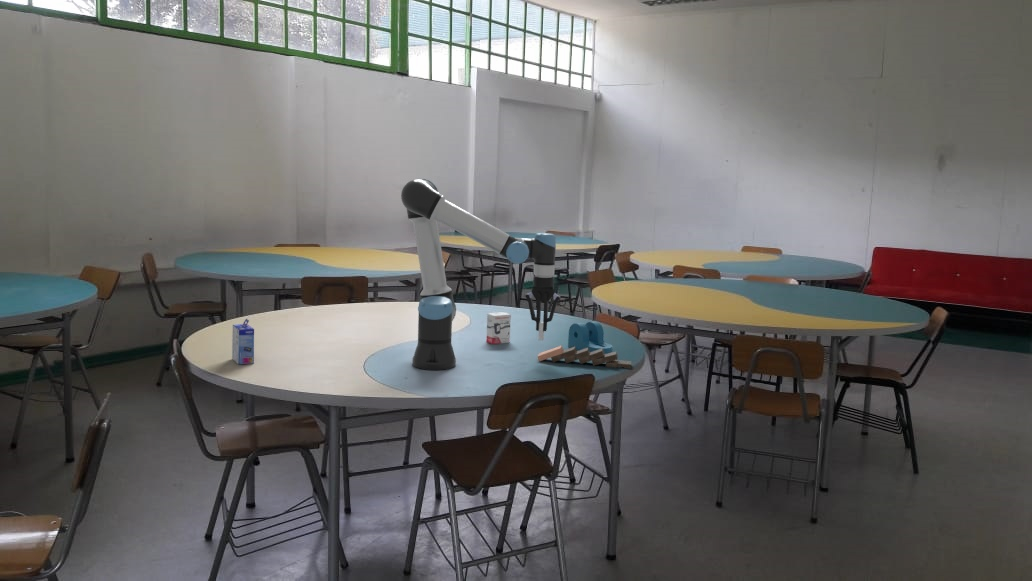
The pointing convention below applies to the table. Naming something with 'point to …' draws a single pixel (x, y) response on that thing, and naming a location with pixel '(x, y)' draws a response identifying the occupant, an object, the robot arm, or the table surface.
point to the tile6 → (619, 364)
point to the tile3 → (578, 355)
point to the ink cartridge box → (243, 343)
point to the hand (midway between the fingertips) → (540, 339)
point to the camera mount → (588, 337)
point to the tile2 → (565, 354)
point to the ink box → (498, 327)
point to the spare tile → (550, 353)
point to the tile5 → (605, 358)
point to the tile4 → (592, 356)
